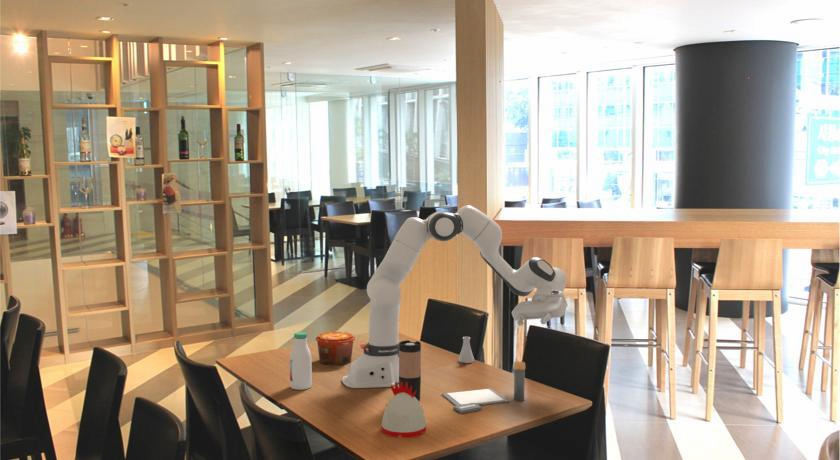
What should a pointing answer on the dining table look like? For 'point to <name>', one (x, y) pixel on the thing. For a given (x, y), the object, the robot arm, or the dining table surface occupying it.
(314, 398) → the dining table surface
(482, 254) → the robot arm
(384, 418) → the kitchen timer
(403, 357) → the travel mug
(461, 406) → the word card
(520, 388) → the marker
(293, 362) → the milk bottle
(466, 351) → the flask
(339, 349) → the food container
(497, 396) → the paper pad
